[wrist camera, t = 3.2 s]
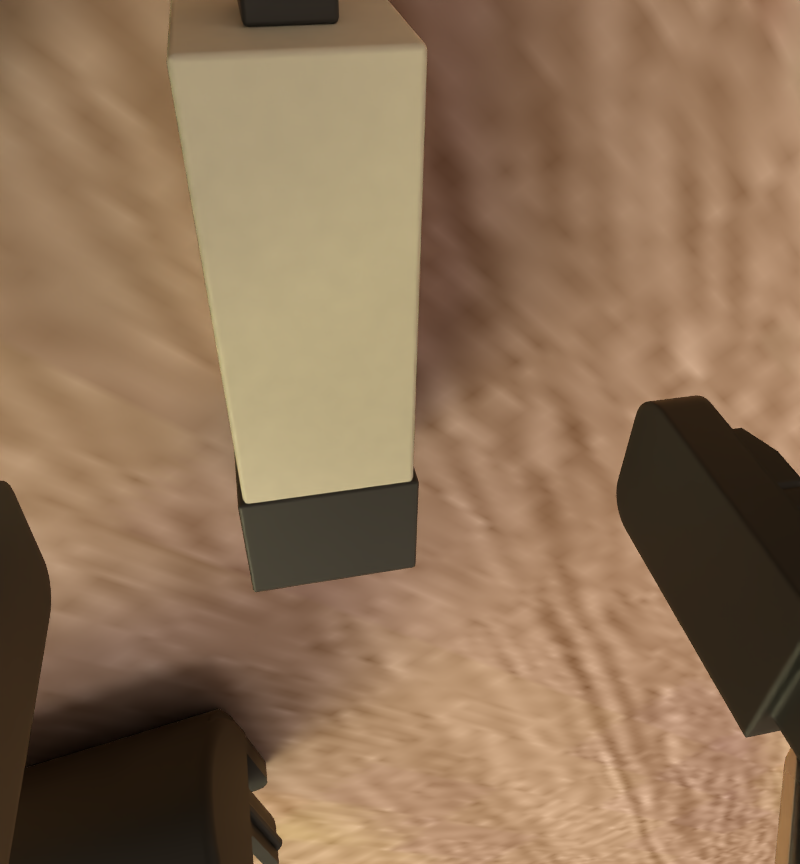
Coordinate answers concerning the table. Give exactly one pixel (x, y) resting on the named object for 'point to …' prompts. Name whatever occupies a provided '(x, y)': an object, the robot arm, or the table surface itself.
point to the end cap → (150, 800)
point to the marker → (310, 267)
